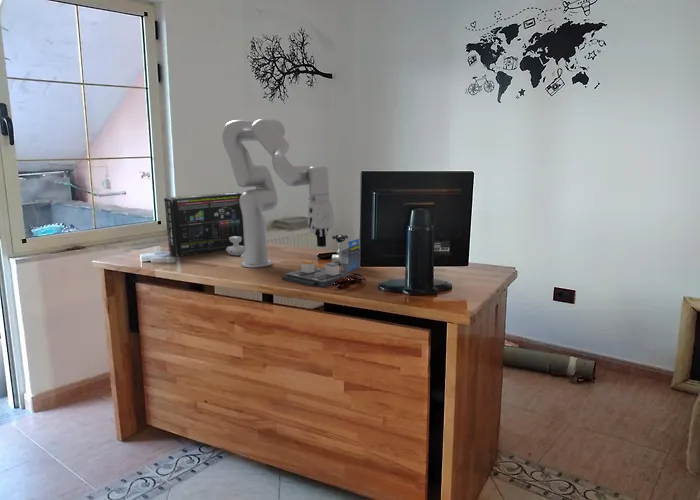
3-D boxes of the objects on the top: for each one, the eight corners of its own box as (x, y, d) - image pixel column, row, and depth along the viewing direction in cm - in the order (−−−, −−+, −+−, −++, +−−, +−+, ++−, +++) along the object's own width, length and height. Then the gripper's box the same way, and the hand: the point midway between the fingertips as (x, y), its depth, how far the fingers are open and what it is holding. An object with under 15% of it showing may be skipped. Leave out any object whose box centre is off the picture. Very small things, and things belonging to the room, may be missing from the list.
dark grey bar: (282, 279, 210) (282, 276, 210) (284, 279, 211) (284, 275, 211) (312, 286, 200) (312, 283, 199) (315, 285, 201) (314, 282, 200)
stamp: (234, 257, 252) (233, 238, 250) (224, 255, 256) (223, 237, 254) (248, 253, 259) (247, 236, 258) (238, 252, 263) (237, 234, 261)
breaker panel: (285, 278, 211) (285, 273, 211) (311, 272, 221) (311, 266, 221) (323, 287, 198) (323, 281, 198) (349, 279, 208) (349, 274, 208)
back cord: (317, 271, 223) (317, 268, 222) (320, 270, 224) (320, 267, 223) (351, 278, 211) (351, 275, 211) (354, 277, 212) (354, 274, 212)
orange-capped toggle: (301, 271, 213) (301, 261, 212) (307, 270, 215) (306, 260, 214) (308, 273, 210) (308, 262, 209) (314, 271, 212) (314, 261, 212)
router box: (236, 244, 284) (233, 191, 279) (246, 247, 275) (243, 193, 270) (166, 253, 263) (162, 196, 258) (175, 257, 254) (170, 198, 249)
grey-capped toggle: (325, 274, 209) (325, 263, 208) (331, 272, 211) (331, 262, 210) (333, 275, 206) (333, 265, 205) (339, 274, 208) (339, 263, 207)
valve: (346, 266, 232) (346, 237, 229) (331, 265, 233) (330, 237, 231) (349, 262, 238) (349, 234, 236) (334, 262, 239) (334, 234, 237)
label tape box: (351, 266, 230) (351, 237, 228) (360, 267, 228) (360, 238, 226) (340, 271, 223) (339, 240, 220) (349, 272, 220) (348, 241, 218)
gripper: (312, 200, 204) (314, 250, 208) (340, 197, 215) (341, 244, 219) (298, 200, 209) (300, 248, 213) (325, 196, 220) (327, 242, 224)
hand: (321, 246), depth 216 cm, fingers closed
